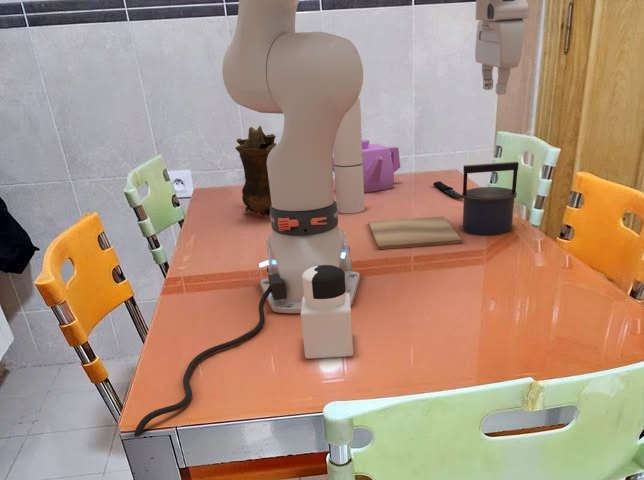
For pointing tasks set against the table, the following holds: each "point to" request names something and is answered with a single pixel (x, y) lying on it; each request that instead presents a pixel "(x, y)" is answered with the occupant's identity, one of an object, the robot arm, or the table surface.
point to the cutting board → (413, 232)
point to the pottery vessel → (256, 170)
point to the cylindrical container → (349, 162)
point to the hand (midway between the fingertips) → (494, 91)
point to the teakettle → (378, 166)
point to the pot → (488, 202)
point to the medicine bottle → (326, 313)
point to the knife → (447, 189)
